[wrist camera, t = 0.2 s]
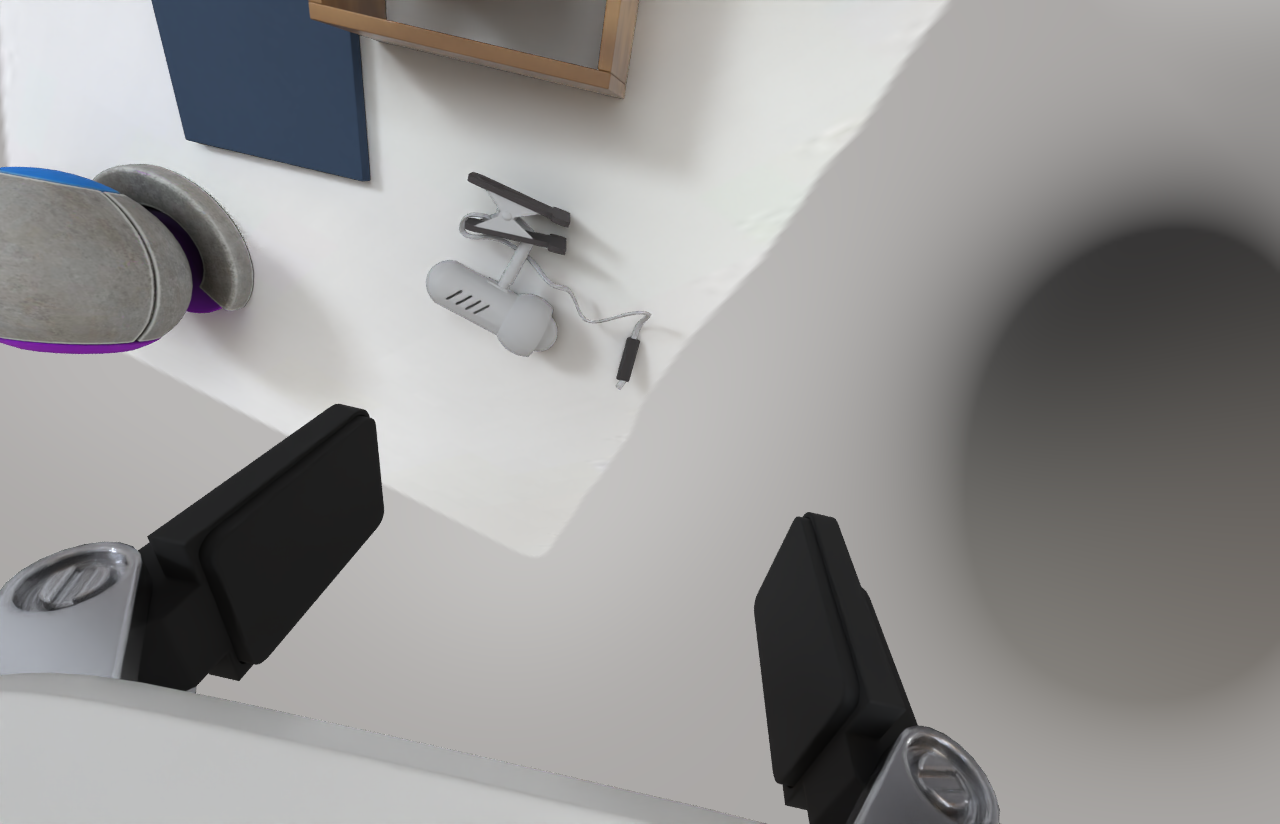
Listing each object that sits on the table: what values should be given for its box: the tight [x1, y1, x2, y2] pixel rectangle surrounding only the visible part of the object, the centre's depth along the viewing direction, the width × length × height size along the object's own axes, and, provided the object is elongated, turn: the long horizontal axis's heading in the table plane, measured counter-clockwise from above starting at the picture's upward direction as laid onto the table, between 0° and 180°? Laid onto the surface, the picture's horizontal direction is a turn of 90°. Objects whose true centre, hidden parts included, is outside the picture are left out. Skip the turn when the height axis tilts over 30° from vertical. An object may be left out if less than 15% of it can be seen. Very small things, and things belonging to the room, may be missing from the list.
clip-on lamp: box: [426, 172, 651, 390], centre depth 38 cm, size 12×6×18 cm
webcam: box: [0, 164, 253, 354], centre depth 35 cm, size 13×13×15 cm
